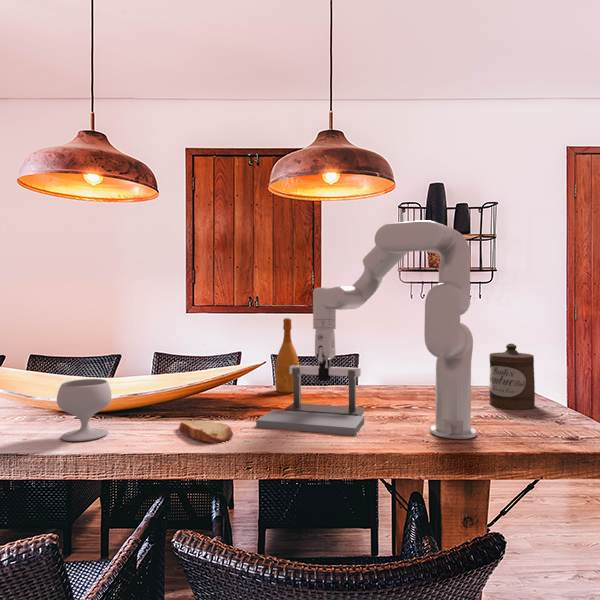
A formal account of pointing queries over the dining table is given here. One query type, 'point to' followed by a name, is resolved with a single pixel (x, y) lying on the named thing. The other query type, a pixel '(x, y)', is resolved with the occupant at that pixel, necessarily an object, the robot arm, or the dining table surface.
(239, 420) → the dining table surface
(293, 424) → the board
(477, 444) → the dining table surface
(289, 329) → the wine bottle
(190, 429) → the bread slice
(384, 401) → the dining table surface
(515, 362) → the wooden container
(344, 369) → the rail
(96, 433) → the chalice
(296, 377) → the rack
